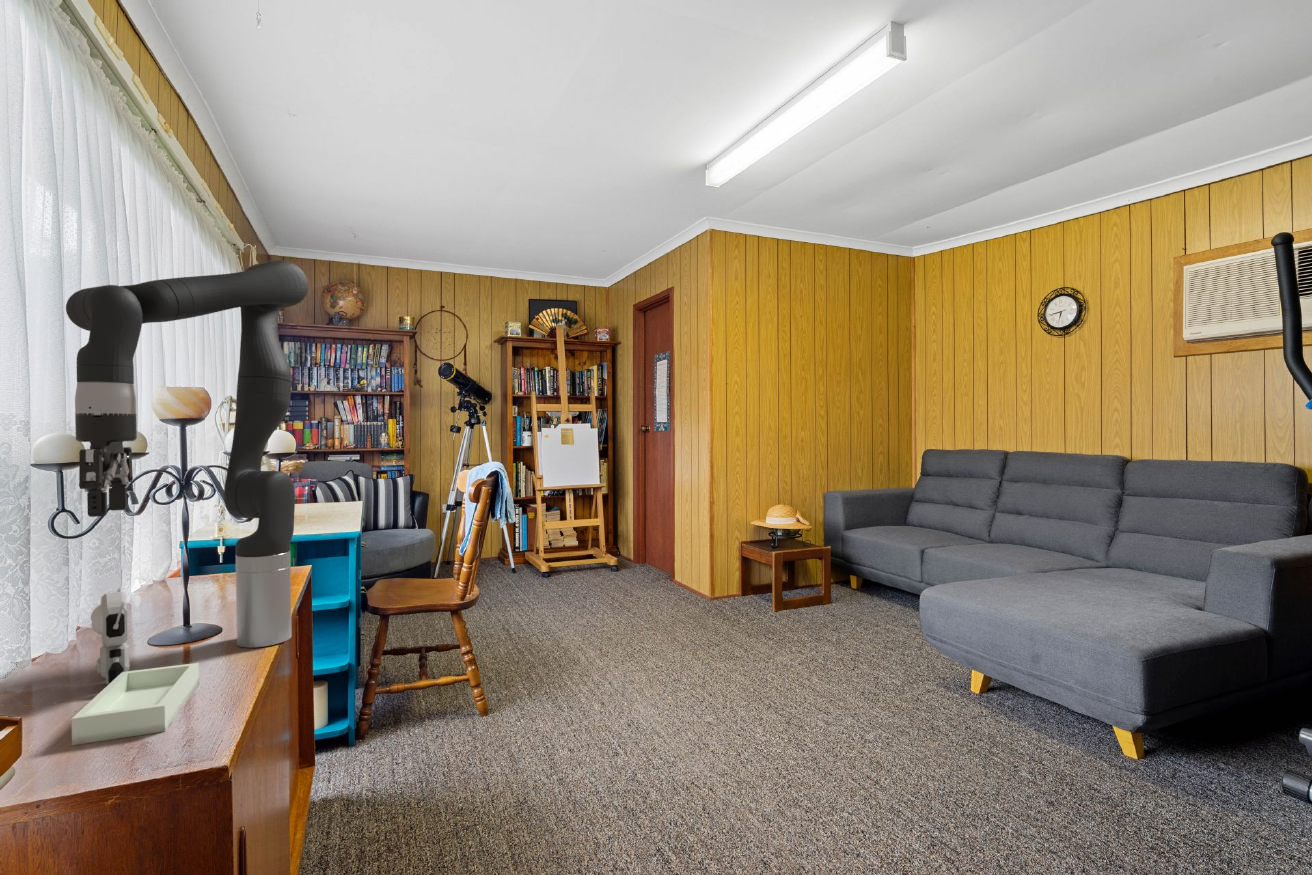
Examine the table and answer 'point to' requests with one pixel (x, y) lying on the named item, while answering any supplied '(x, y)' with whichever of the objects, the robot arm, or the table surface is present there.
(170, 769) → the table surface
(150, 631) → the table surface
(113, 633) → the robot toy
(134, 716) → the tray
